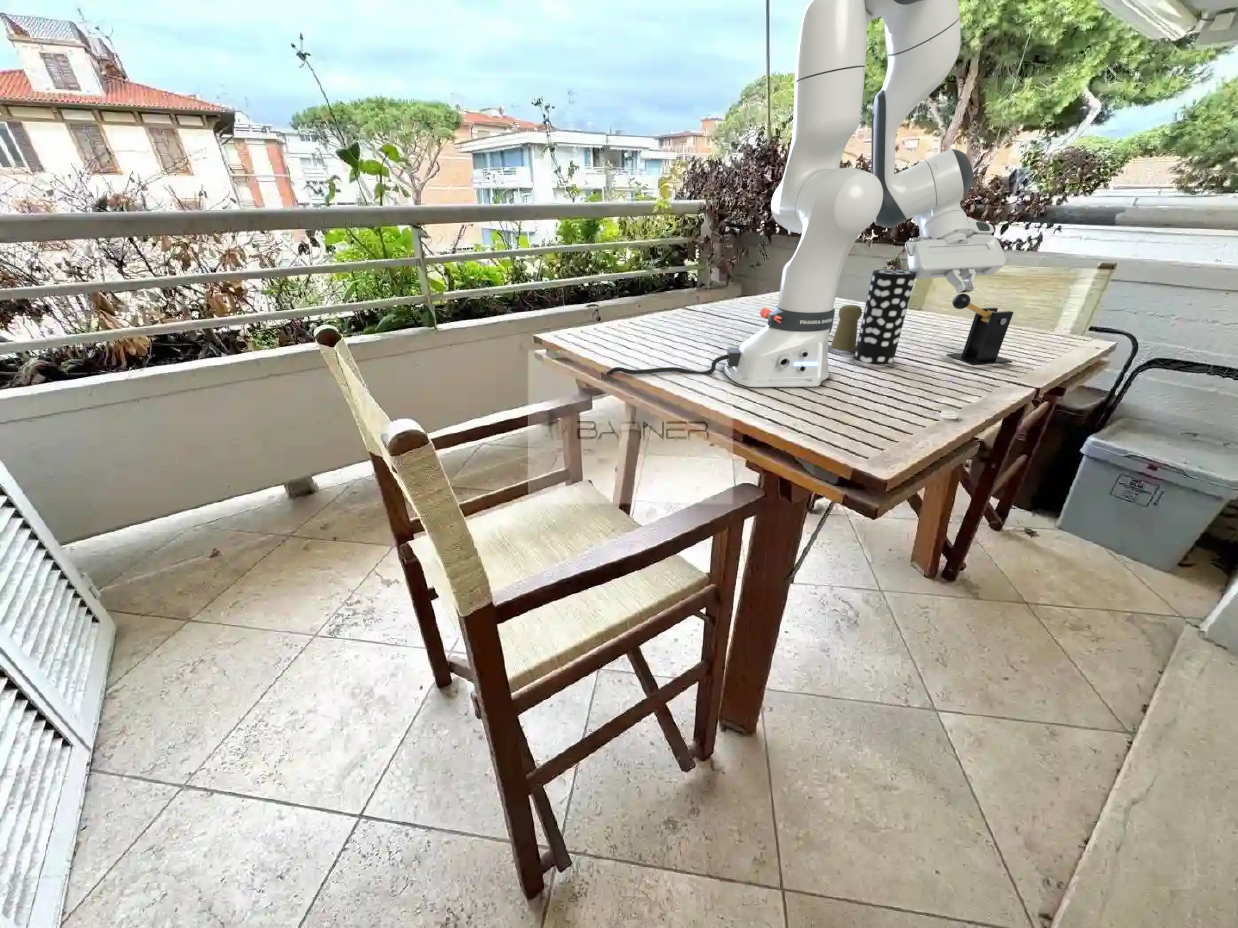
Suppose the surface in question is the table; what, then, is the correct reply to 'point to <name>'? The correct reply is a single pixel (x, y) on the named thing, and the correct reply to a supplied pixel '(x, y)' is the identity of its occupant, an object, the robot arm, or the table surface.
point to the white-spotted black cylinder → (884, 315)
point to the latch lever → (970, 306)
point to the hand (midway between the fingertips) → (966, 291)
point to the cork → (847, 328)
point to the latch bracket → (985, 339)
